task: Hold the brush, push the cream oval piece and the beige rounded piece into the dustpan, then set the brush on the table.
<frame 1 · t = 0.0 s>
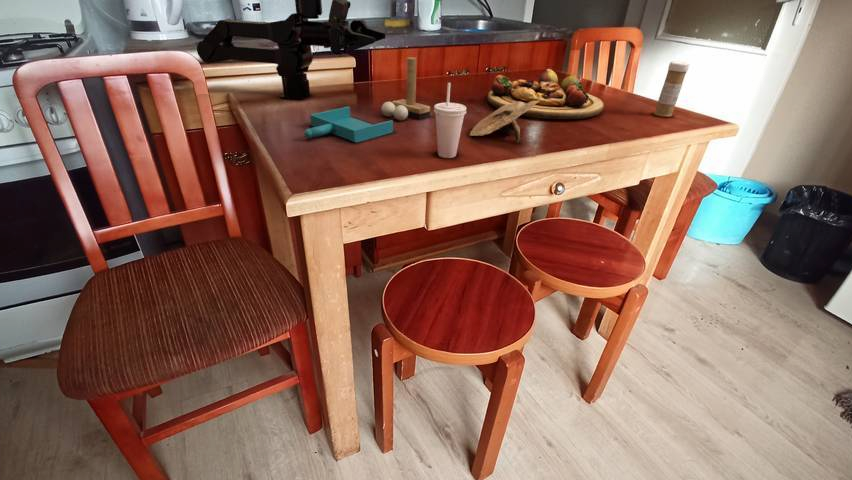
hand: (380, 38, 114), 17 cm above the table, tool horizontal, fingers open, 9 cm apart
beige rounded piece 2: (388, 116, 115), on the table
tan wooden pointed piece: (497, 136, 104), on the table
dustpan: (352, 129, 105), on the table
smoothie: (446, 155, 93), on the table
brush: (410, 114, 117), on the table
sprinkles bottle: (662, 116, 123), on the table
wooden plate: (543, 106, 128), on the table
cream oval piece 1: (400, 120, 112), on the table
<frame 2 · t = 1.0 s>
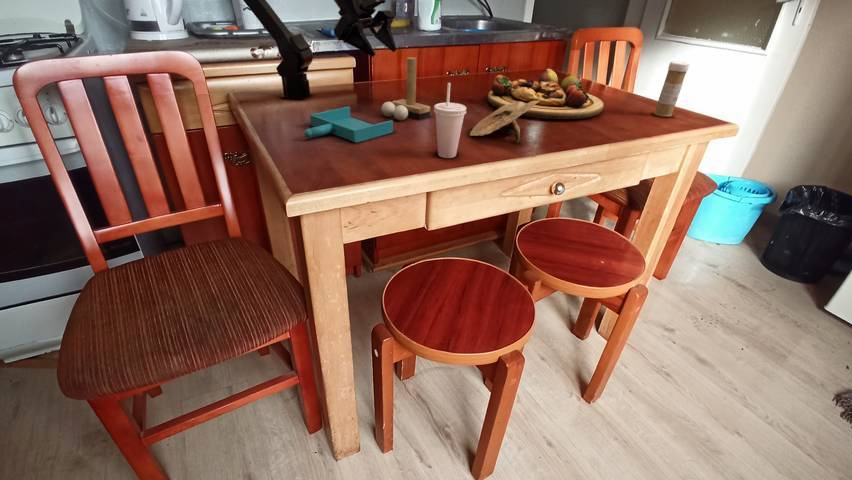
hand: (384, 53, 113), 14 cm above the table, tool tilted 45°, fingers open, 9 cm apart
nothing on the table moved.
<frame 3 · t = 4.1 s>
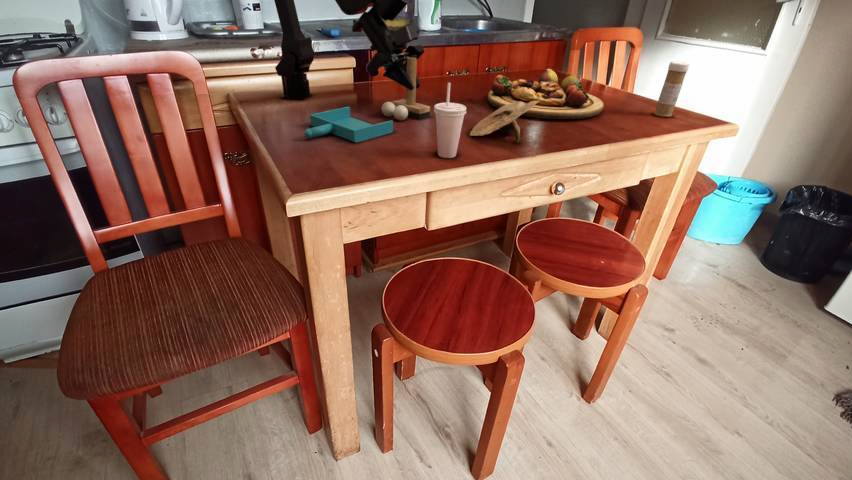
hand: (415, 88, 113), 7 cm above the table, tool tilted 45°, fingers closed on brush, 2 cm apart
brush: (410, 114, 117), on the table, touching gripper
everything else where it was.
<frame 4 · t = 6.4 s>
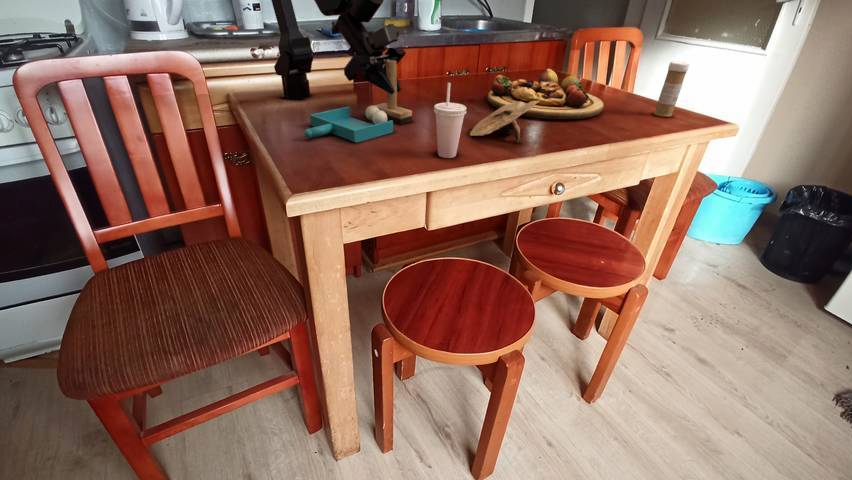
hand: (396, 92, 109), 7 cm above the table, tool tilted 45°, fingers closed on brush, 2 cm apart
beige rounded piece 2: (372, 105, 109), point 4 cm above the table, tilted 178°
brush: (392, 118, 113), on the table, touching gripper
cream oval piece 1: (375, 114, 105), point 3 cm above the table, tilted 132°
everything else where it was.
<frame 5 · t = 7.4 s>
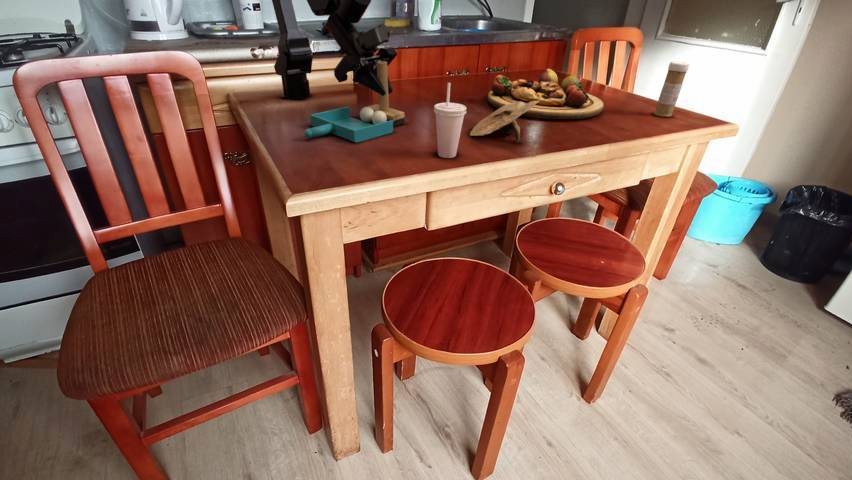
hand: (388, 93, 107), 7 cm above the table, tool tilted 45°, fingers closed on brush, 2 cm apart
beige rounded piece 2: (362, 111, 108), point 3 cm above the table, tilted 124°, touching brush, dustpan
brush: (384, 120, 111), on the table, touching gripper, beige rounded piece 2
cream oval piece 1: (374, 115, 105), point 3 cm above the table, tilted 125°
everything else where it was.
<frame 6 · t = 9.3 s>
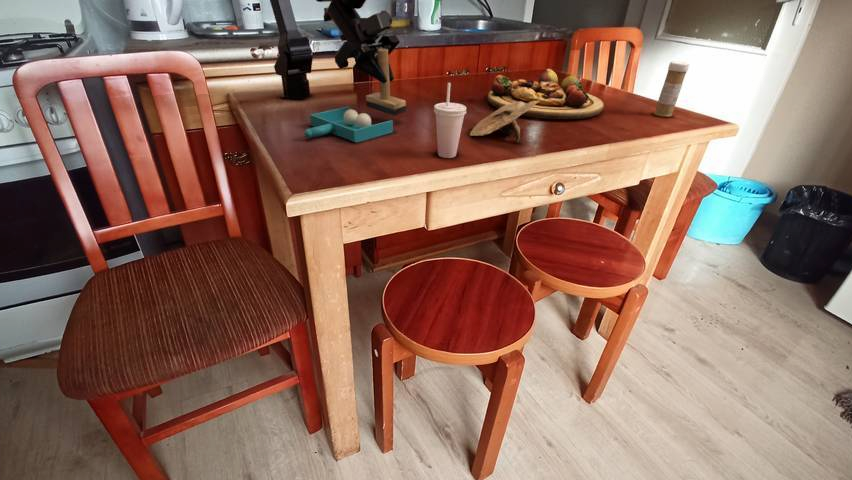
hand: (389, 81, 106), 9 cm above the table, tool tilted 45°, fingers closed on brush, 2 cm apart
beige rounded piece 2: (355, 123, 107), resting on dustpan, tilted 32°
brush: (386, 108, 110), point 3 cm above the table, touching gripper
cream oval piece 1: (367, 127, 105), resting on dustpan, tilted 31°
everything else where it was.
when the fingers open (7 cm above the table, at t = 11.4 s): brush stays where it is, on the table.
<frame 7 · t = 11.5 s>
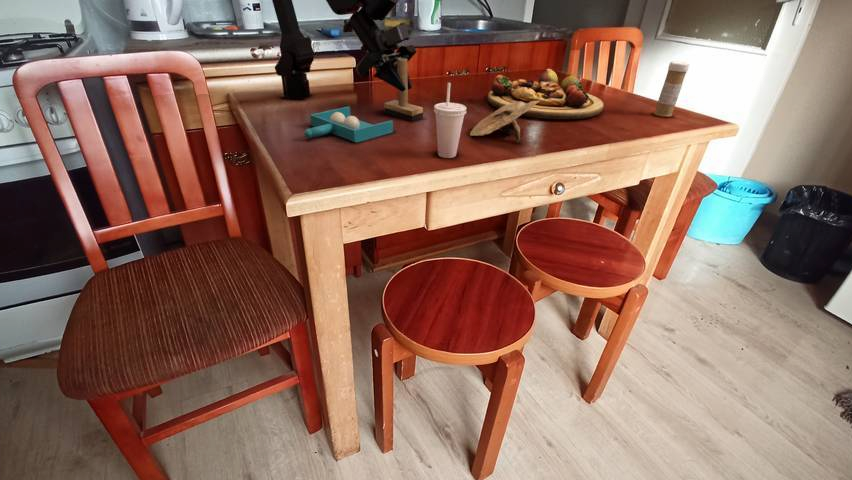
hand: (407, 89, 111), 7 cm above the table, tool tilted 45°
beige rounded piece 2: (340, 112, 103), point 4 cm above the table, tilted 153°, touching dustpan
brush: (403, 115, 115), on the table
cream oval piece 1: (355, 117, 102), point 3 cm above the table, tilted 140°, touching dustpan
everything else where it was.
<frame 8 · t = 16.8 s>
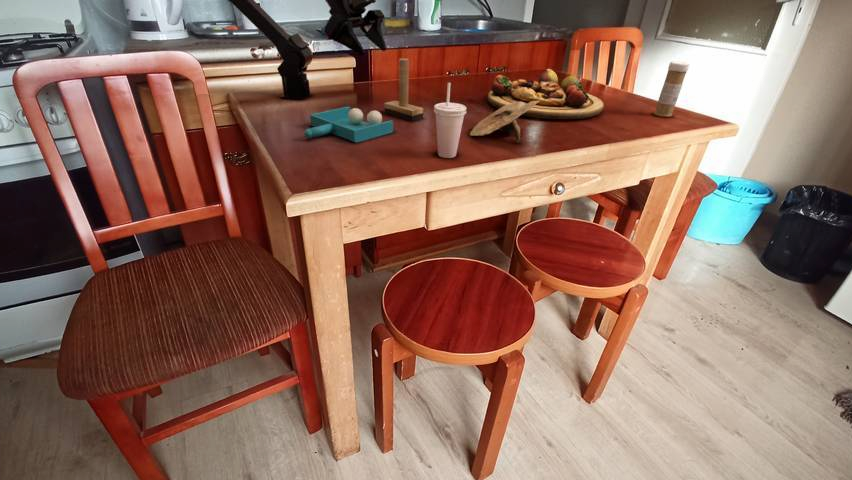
hand: (374, 52, 114), 14 cm above the table, tool tilted 45°, fingers open, 9 cm apart
beige rounded piece 2: (354, 123, 108), resting on dustpan, tilted 16°
cream oval piece 1: (369, 121, 105), point 2 cm above the table, tilted 81°, touching dustpan
everything else where it was.
at the end: cream oval piece 1 4.1 cm from the dustpan (horizontally); beige rounded piece 2 3.3 cm from the dustpan (horizontally); brush tilted 0° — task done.
